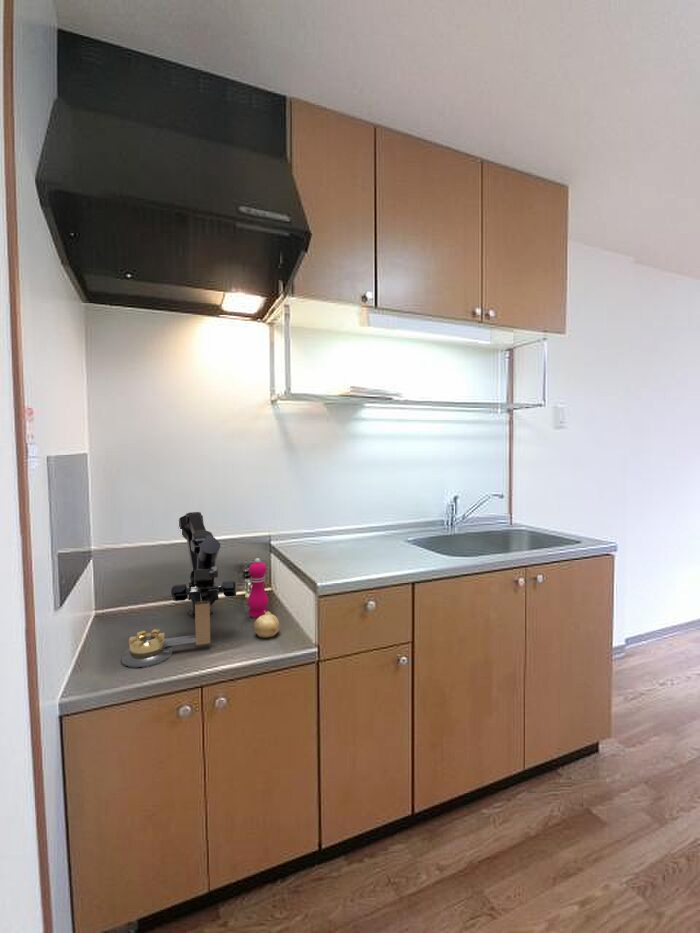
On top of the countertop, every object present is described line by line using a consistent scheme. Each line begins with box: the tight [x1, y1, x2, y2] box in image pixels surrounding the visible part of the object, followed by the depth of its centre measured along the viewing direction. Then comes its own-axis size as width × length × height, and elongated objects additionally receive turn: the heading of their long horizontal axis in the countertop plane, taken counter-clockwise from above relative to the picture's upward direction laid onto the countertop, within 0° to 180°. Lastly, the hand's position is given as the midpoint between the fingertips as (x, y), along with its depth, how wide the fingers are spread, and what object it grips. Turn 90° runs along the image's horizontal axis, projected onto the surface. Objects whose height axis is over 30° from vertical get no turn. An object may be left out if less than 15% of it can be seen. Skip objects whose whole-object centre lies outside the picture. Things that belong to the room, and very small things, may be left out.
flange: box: [121, 645, 173, 669], centre depth 124 cm, size 13×13×2 cm
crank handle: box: [128, 600, 211, 658], centre depth 126 cm, size 22×9×12 cm, turn 108°
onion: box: [253, 610, 280, 639], centre depth 138 cm, size 8×8×7 cm
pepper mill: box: [247, 557, 269, 619], centre depth 153 cm, size 7×7×20 cm
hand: (203, 617), depth 130 cm, fingers closed
